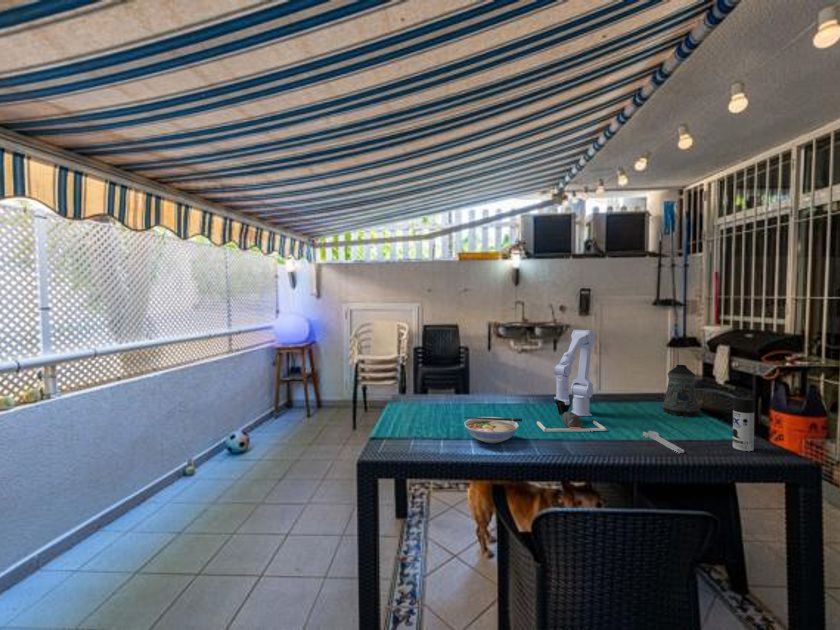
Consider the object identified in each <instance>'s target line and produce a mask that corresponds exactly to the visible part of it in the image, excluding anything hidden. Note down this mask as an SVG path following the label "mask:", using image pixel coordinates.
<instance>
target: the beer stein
mask: <svg viewBox="0 0 840 630" xmlns="http://www.w3.org/2000/svg"><path fill="white" fill-rule="evenodd" d="M667 376H668V382H667V383H668V384H667V387H666V393H665V398H664V401H663V402H662V411H663V413H664V412H665V413H664V414H666V413H668V414H667V415H669V414H671V415H670V416H674V415H676V416H675V417H680V416H683V417H682V418H695V417H694V416H696V417H699V413H700V410H701V408H700V407H699V404H698V399H697V392H696V386H695V379H696V374H695V373H694V372H693V371H692V370H690V368H688V367H687V365H685V364H676V366H675V367H674V368H672V369H670V370H669V371H668V373H667Z"/></svg>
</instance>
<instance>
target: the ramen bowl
mask: <svg viewBox="0 0 840 630" xmlns="http://www.w3.org/2000/svg"><path fill="white" fill-rule="evenodd" d="M464 419H467V420H466V421H464V427H465V429H466V431H467V432H468V433H469V434H470V436H472V437H473V438H475V439H476V440H479V441H480V442H483V443H485V444H493V445H494V444H499V443H501V442H504V441H505V442H506V441H508V440H509V439H511V438H512V436H513V435H514V434H515V433H516V431H517V430H518V428H519V424H518V422H521V423H522V422H523V419H522V418H508V417H507V418H504V417H498V416H480V417H479V416H478V417H473V416H472V417H471V416H470V417H467V416H465V417H464Z"/></svg>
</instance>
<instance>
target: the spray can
mask: <svg viewBox="0 0 840 630" xmlns="http://www.w3.org/2000/svg"><path fill="white" fill-rule="evenodd" d="M732 399H733V402H732V448H733V449H735V450H738V451H739V452H740V451H742V452H745V451H748V452H747V453H749V452H750V451H752V452H754V449H755V399H754V398H750V397H746V396H745V397H744V396H734V397H733V398H732Z"/></svg>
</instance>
